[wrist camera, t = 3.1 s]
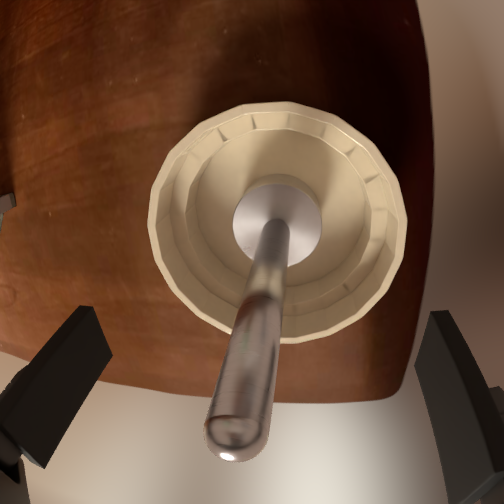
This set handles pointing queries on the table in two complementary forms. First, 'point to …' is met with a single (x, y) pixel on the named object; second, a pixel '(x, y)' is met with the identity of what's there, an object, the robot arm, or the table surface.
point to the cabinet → (6, 204)
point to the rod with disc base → (260, 311)
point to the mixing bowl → (234, 186)
